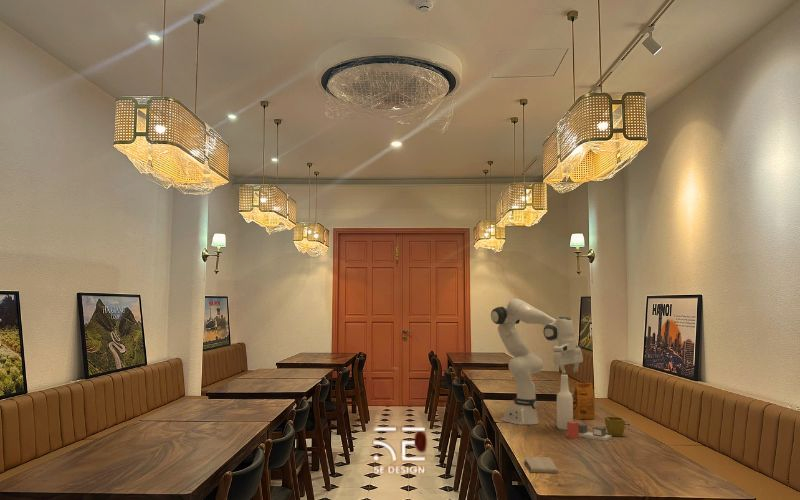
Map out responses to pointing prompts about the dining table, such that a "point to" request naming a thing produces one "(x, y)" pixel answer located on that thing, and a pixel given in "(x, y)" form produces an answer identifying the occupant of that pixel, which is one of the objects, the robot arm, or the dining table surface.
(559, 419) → the alcohol
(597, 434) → the grey cubes on base
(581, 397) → the coffee package
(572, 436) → the tall red square pillar
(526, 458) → the washcloth
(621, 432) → the flower pot
